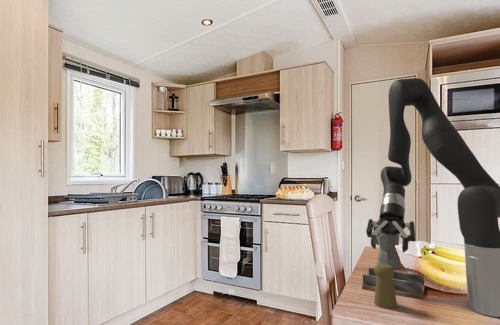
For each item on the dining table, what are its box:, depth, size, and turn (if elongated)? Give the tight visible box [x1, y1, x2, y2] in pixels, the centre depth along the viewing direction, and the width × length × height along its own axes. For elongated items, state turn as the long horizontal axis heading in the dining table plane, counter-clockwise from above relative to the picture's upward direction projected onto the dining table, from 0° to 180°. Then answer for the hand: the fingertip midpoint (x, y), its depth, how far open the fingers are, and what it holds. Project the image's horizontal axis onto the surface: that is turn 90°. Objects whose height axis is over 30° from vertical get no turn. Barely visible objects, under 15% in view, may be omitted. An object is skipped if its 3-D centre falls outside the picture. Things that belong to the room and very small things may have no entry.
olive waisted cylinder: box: [373, 263, 398, 310], centre depth 84 cm, size 6×6×11 cm
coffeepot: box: [372, 225, 402, 270], centre depth 124 cm, size 15×9×18 cm, turn 13°
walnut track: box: [361, 267, 426, 300], centre depth 98 cm, size 17×13×4 cm
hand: (388, 248), depth 93 cm, fingers open, 8 cm apart
